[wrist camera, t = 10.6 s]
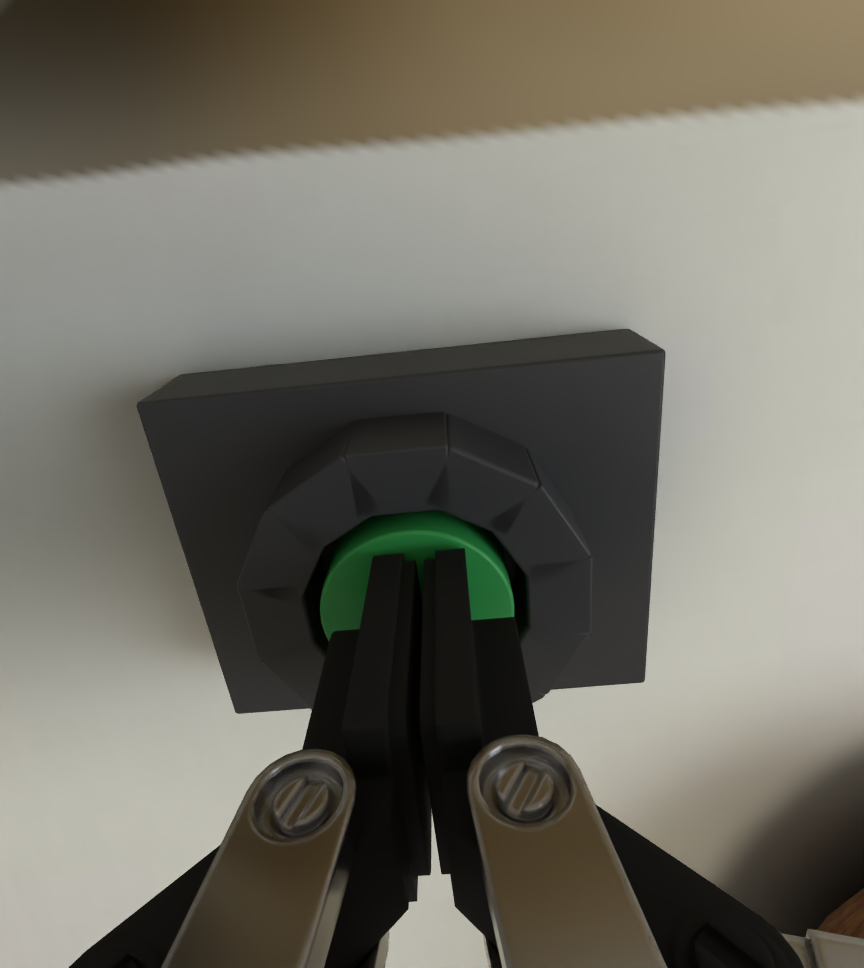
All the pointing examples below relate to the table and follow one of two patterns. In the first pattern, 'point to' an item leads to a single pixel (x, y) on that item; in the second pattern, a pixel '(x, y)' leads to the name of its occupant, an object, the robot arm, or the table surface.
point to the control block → (420, 493)
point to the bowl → (847, 918)
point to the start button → (416, 542)
